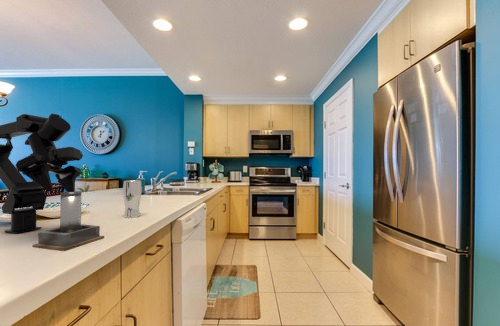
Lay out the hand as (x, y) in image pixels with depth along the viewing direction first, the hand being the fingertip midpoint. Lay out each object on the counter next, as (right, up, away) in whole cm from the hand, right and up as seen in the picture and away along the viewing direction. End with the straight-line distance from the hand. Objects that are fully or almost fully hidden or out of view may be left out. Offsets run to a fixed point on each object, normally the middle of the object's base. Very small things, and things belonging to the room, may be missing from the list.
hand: (62, 192), depth 70 cm
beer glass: (+7, -14, +28) cm, 32 cm away
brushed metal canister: (+8, -12, -7) cm, 16 cm away
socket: (+8, -13, -7) cm, 16 cm away
